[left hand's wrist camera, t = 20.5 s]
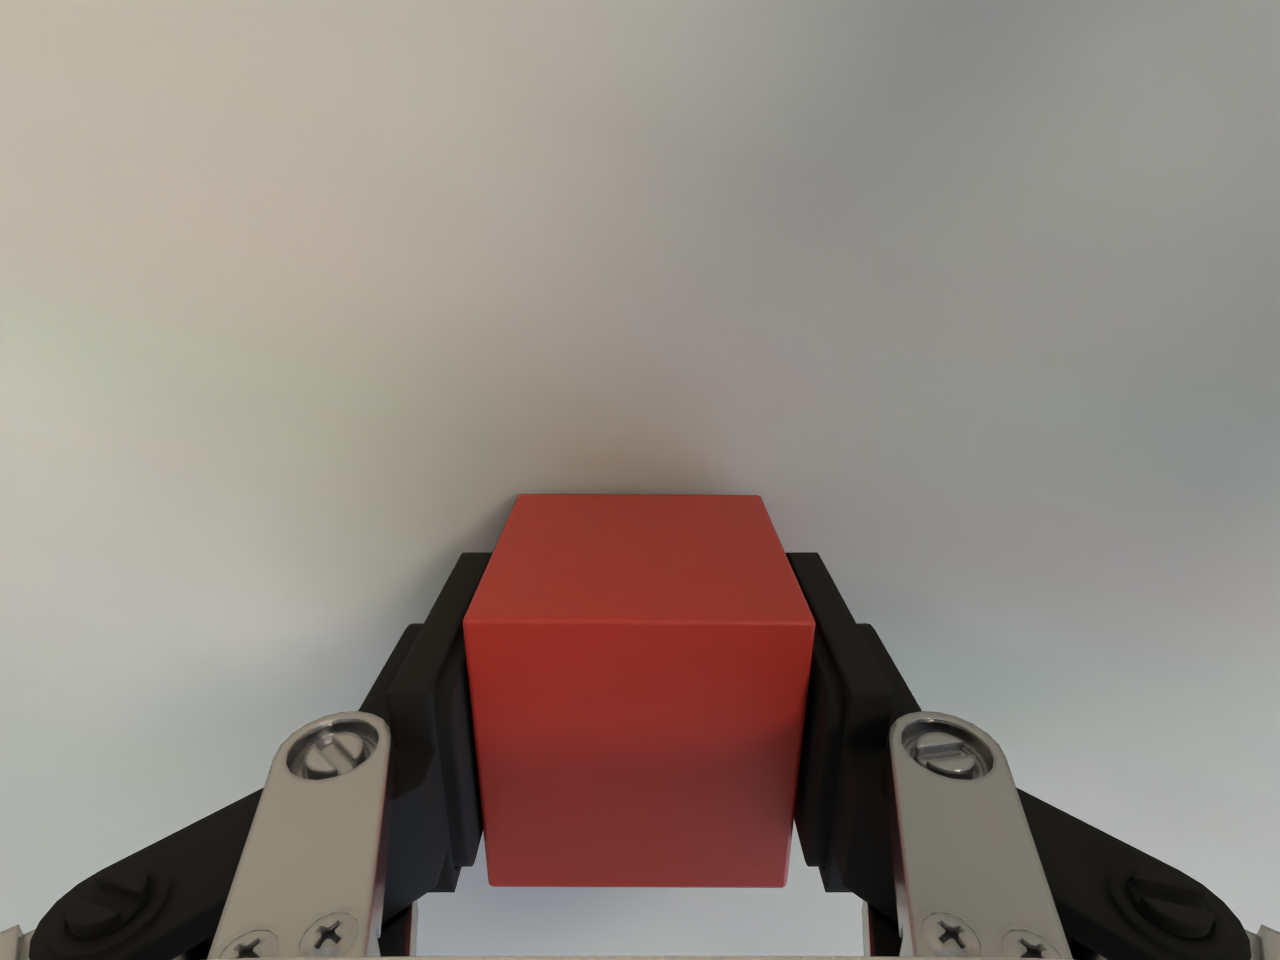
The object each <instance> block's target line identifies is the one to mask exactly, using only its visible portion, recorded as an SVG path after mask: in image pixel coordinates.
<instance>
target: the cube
mask: <svg viewBox="0 0 1280 960" xmlns="http://www.w3.org/2000/svg"><path fill="white" fill-rule="evenodd" d="M815 624H816V623H815V620H814V618H813V616H812V613H811V611H810V609H809V607H808V604H807V602H806V600H805V597H804V595H803V593H802V591H801V588H800V586H799V584H798V581H797V579H796V577H795V574H794V572H793V570H792V568H791V565H790V563H789V561H788V558H787V556H786V554H785V552H784V549H783V547H782V545H781V542H780V540H779V538H778V536H777V533H776V531H775V529H774V526H773V524H772V522H771V520H770V517H769V515H768V513H767V510H766V508H765V506H764V503H763V501H762V499H761V497H760V496H758V495H578V494H521V495H518V497H517V500H516V502H515V504H514V506H513V509H512V511H511V513H510V515H509V518H508V520H507V522H506V524H505V527H504V529H503V531H502V533H501V536H500V538H499V540H498V542H497V545H496V547H495V549H494V551H493V554H492V556H491V558H490V560H489V563H488V565H487V567H486V569H485V572H484V574H483V576H482V578H481V581H480V583H479V585H478V587H477V590H476V592H475V594H474V596H473V599H472V601H471V603H470V605H469V608H468V610H467V612H466V614H465V617H464V619H463V630H464V640H465V650H466V660H467V671H468V681H469V691H470V701H471V711H472V721H473V731H474V741H475V751H476V761H477V771H478V781H479V791H480V801H481V811H482V821H483V831H484V841H485V851H486V861H487V871H488V881H489V884H490V885H491V886H501V887H729V888H782V887H785V886H786V882H787V875H788V866H789V857H790V848H791V839H792V830H793V821H794V812H795V803H796V794H797V785H798V776H799V767H800V758H801V749H802V740H803V731H804V722H805V713H806V704H807V695H808V686H809V677H810V668H811V659H812V651H813V642H814V633H815Z"/></svg>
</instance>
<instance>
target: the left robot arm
mask: <svg viewBox="0 0 1280 960" xmlns="http://www.w3.org/2000/svg"><path fill="white" fill-rule="evenodd" d="M492 554H493V553H462V554H461V556H460V558H459V560H458V561H457V563H456V565H455V567H454V569H453V571H452V573H451V574H450V576H449V578H448V580H447V582H446V584H445V585H444V587H443V589H442V591H441V593H440V595H439V597H438V598H437V600H436V602H435V604H434V606H433V608H432V609H431V611H430V613H429V615H428V617H427V619H426V621H425V622H424V624H410V625H409V626H408V627H407V628H406V630H405V631H404V633H403V635H402V636H401V638H400V640H399V642H398V643H397V645H396V647H395V648H394V650H393V652H392V654H391V655H390V657H389V659H388V661H387V662H386V664H385V666H384V667H383V669H382V671H381V673H380V674H379V676H378V678H377V680H376V681H375V683H374V685H373V686H372V688H371V690H370V692H369V693H368V695H367V697H366V699H365V700H364V702H363V704H362V705H361V707H360V709H359V711H354V712H341V713H337V714H332V715H328V716H324V717H322V718H320V719H317V720H315V721H313V722H310V723H308V724H306V725H305V726H303V727H302V728H300V729H299V730H297V731H296V732H294V733H292V734H291V735H290V736H289V737H288V738H287V739H286V740H285V741H284V742H283V743H282V744H281V746H280V747H279V749H278V751H277V753H276V755H275V757H274V759H273V762H272V765H271V768H270V771H269V774H268V777H267V780H266V783H265V786H264V788H262V789H260V790H258V791H256V792H254V793H252V794H250V795H248V796H246V797H244V798H242V799H240V800H238V801H236V802H234V803H232V804H230V805H229V806H227V807H225V808H223V809H221V810H219V811H217V812H215V813H213V814H211V815H209V816H207V817H205V818H203V819H201V820H199V821H197V822H195V823H193V824H191V825H189V826H187V827H185V828H183V829H181V830H179V831H177V832H175V833H173V834H171V835H170V836H168V837H166V838H164V839H162V840H160V841H158V842H156V843H154V844H152V845H150V846H148V847H146V848H144V849H142V850H140V851H138V852H136V853H134V854H132V855H130V856H128V857H126V858H124V859H122V860H120V861H118V862H116V863H114V864H112V865H111V866H109V867H107V868H105V869H103V870H101V871H99V872H97V873H96V874H94V875H92V876H91V877H89V878H87V879H86V880H84V881H82V882H81V883H79V884H78V885H76V886H75V887H74V888H73V889H71V890H70V891H69V892H68V893H67V894H65V895H64V896H63V897H62V898H61V899H59V900H58V901H57V902H56V903H55V904H54V905H53V907H52V908H51V909H50V910H49V911H48V912H47V914H46V915H45V916H44V917H43V918H42V919H41V920H40V922H39V924H38V926H37V928H36V929H35V930H33V931H31V932H28V933H26V934H24V935H23V933H22V931H21V928H20V926H19V924H18V925H16V926H14V927H11V928H9V929H7V930H5V931H2V932H0V960H1280V932H1278V931H1275V930H1273V929H1271V928H1269V927H1266V926H1264V925H1262V924H1261V926H1260V929H1259V931H1258V933H1257V935H1256V934H1254V933H1252V932H1249V931H1247V930H1245V929H1244V928H1243V926H1242V924H1241V922H1240V920H1239V919H1238V918H1237V917H1236V916H1235V915H1234V913H1233V912H1232V911H1231V910H1230V909H1229V908H1228V907H1227V905H1226V904H1225V903H1224V902H1223V901H1222V900H1221V899H1219V898H1218V897H1217V896H1216V895H1215V894H1213V893H1212V892H1211V891H1210V890H1209V889H1207V888H1206V887H1205V886H1204V885H1203V884H1201V883H1199V882H1198V881H1196V880H1194V879H1193V878H1191V877H1189V876H1188V875H1186V874H1184V873H1183V872H1181V871H1179V870H1177V869H1175V868H1173V867H1171V866H1169V865H1168V864H1166V863H1164V862H1162V861H1160V860H1158V859H1156V858H1154V857H1152V856H1150V855H1148V854H1146V853H1144V852H1142V851H1140V850H1138V849H1136V848H1134V847H1132V846H1130V845H1128V844H1126V843H1124V842H1122V841H1120V840H1118V839H1116V838H1114V837H1112V836H1110V835H1109V834H1107V833H1105V832H1103V831H1101V830H1099V829H1097V828H1095V827H1093V826H1091V825H1089V824H1087V823H1085V822H1083V821H1081V820H1079V819H1077V818H1075V817H1073V816H1071V815H1069V814H1067V813H1065V812H1063V811H1061V810H1059V809H1057V808H1055V807H1053V806H1051V805H1050V804H1048V803H1046V802H1044V801H1042V800H1040V799H1038V798H1036V797H1034V796H1032V795H1030V794H1028V793H1026V792H1024V791H1022V790H1020V789H1018V788H1016V786H1015V783H1014V780H1013V777H1012V774H1011V771H1010V768H1009V765H1008V762H1007V759H1006V757H1005V755H1004V753H1003V751H1002V749H1001V747H1000V746H999V744H998V743H997V742H996V741H995V740H994V739H993V738H992V737H991V736H990V735H989V734H988V733H986V732H984V731H983V730H981V729H980V728H978V727H977V726H975V725H974V724H972V723H970V722H967V721H965V720H963V719H960V718H958V717H956V716H952V715H948V714H943V713H939V712H926V711H921V709H920V707H919V705H918V704H917V702H916V700H915V699H914V697H913V695H912V693H911V692H910V690H909V688H908V686H907V685H906V683H905V681H904V680H903V678H902V676H901V674H900V673H899V671H898V669H897V667H896V666H895V664H894V662H893V661H892V659H891V657H890V655H889V654H888V652H887V650H886V648H885V647H884V645H883V643H882V642H881V640H880V638H879V636H878V635H877V633H876V631H875V629H874V628H873V627H872V626H871V625H870V624H856V622H855V620H854V619H853V617H852V615H851V613H850V611H849V609H848V608H847V606H846V604H845V602H844V600H843V598H842V596H841V595H840V593H839V591H838V589H837V587H836V585H835V584H834V582H833V580H832V578H831V576H830V574H829V572H828V571H827V569H826V567H825V565H824V563H823V561H822V560H821V558H820V556H819V554H818V553H785V554H786V556H787V558H788V561H789V563H790V565H791V568H792V570H793V572H794V574H795V577H796V579H797V581H798V584H799V586H800V588H801V591H802V593H803V595H804V597H805V600H806V602H807V604H808V607H809V609H810V611H811V613H812V616H813V618H814V620H815V623H816V624H815V633H814V642H813V651H812V659H811V668H810V677H809V686H808V695H807V704H806V713H805V722H804V731H803V740H802V749H801V758H800V767H799V776H798V785H797V794H796V803H795V812H794V820H795V824H796V828H797V832H798V835H799V839H800V843H801V847H802V851H803V855H804V858H805V862H806V864H807V866H818V867H819V870H820V874H821V877H822V881H823V885H824V888H825V892H853V893H854V894H856V895H857V896H859V897H860V898H861V899H863V906H862V923H863V944H864V956H416V944H417V923H418V906H417V899H419V898H420V897H421V896H423V895H424V894H426V893H427V892H455V888H456V885H457V881H458V877H459V874H460V870H461V867H462V866H473V864H474V862H475V858H476V855H477V851H478V847H479V843H480V839H481V836H482V832H483V821H482V811H481V801H480V791H479V781H478V771H477V761H476V751H475V741H474V731H473V721H472V711H471V701H470V691H469V681H468V671H467V660H466V650H465V640H464V630H463V619H464V617H465V614H466V612H467V610H468V608H469V605H470V603H471V601H472V599H473V596H474V594H475V592H476V590H477V587H478V585H479V583H480V581H481V578H482V576H483V574H484V572H485V569H486V567H487V565H488V563H489V560H490V558H491V556H492Z"/></svg>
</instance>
